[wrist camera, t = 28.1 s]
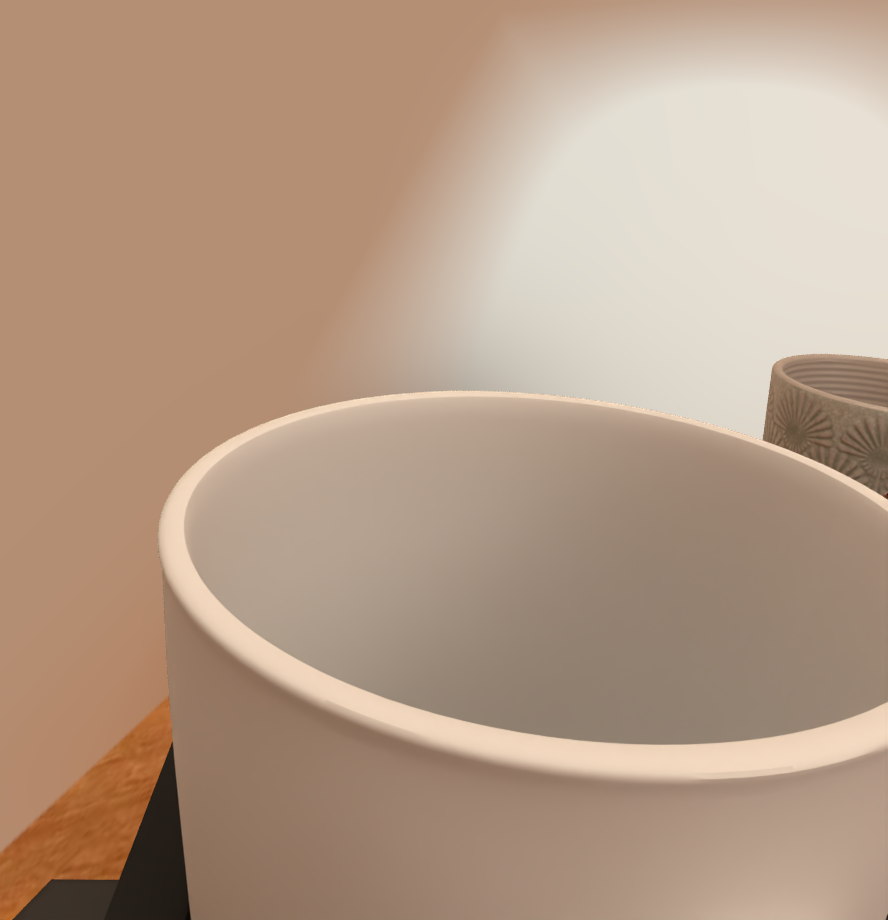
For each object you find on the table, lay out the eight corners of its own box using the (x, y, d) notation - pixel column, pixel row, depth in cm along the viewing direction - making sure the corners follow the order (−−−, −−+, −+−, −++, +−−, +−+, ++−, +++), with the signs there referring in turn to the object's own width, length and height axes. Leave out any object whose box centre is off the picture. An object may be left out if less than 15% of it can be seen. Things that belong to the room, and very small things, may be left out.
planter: (896, 645, 56) (961, 433, 50) (693, 544, 69) (727, 366, 63) (1002, 581, 66) (1066, 398, 60) (807, 503, 78) (845, 345, 73)
